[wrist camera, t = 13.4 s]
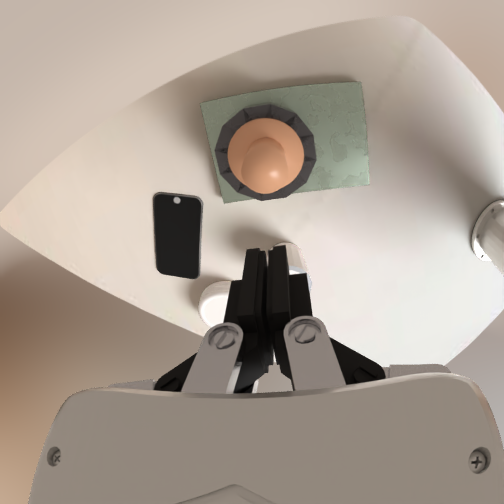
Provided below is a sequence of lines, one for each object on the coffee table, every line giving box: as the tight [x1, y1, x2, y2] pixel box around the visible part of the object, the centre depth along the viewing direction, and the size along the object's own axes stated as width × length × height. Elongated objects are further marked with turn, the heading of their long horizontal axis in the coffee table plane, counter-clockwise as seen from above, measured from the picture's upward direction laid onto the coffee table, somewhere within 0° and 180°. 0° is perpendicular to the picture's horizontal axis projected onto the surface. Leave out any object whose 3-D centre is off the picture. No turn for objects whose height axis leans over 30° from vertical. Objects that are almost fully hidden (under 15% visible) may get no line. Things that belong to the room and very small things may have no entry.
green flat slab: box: [200, 82, 369, 204], centre depth 32 cm, size 20×14×6 cm
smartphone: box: [153, 192, 203, 279], centre depth 44 cm, size 8×1×15 cm
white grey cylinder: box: [267, 242, 312, 292], centre depth 41 cm, size 7×7×7 cm
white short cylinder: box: [198, 281, 231, 328], centre depth 49 cm, size 10×10×4 cm
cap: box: [228, 118, 304, 194], centre depth 28 cm, size 8×8×10 cm
